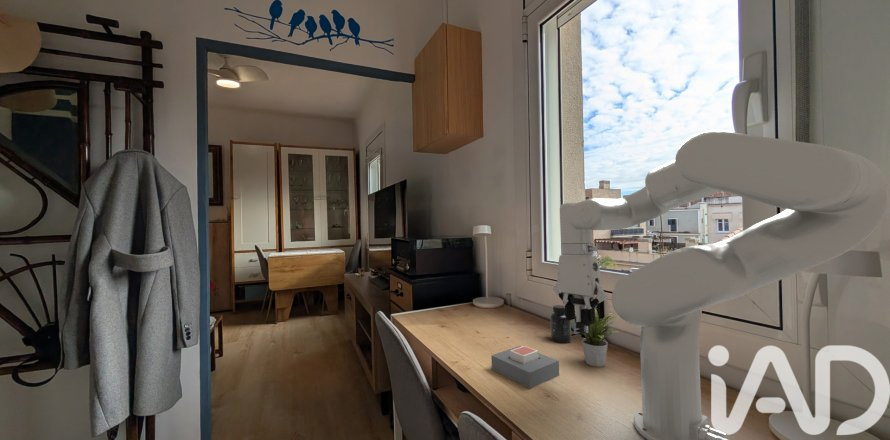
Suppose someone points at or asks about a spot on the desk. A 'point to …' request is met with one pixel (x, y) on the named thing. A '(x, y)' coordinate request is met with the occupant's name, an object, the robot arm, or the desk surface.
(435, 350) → the desk surface
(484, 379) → the desk surface
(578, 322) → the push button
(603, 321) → the house plant
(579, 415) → the desk surface
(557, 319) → the supplement bottle
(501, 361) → the grey button box
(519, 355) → the breaker button
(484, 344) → the desk surface
